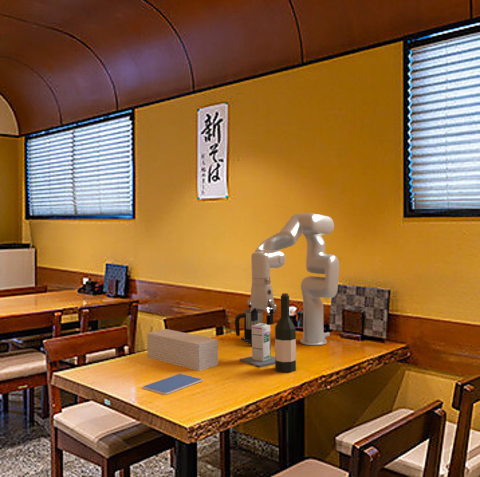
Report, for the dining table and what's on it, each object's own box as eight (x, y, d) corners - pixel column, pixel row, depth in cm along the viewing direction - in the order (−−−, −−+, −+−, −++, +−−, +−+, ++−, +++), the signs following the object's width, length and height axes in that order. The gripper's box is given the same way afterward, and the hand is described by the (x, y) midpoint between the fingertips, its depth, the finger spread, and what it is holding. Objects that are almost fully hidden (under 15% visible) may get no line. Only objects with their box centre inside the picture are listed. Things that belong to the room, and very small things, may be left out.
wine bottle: (298, 367, 206) (297, 292, 205) (293, 373, 198) (292, 295, 197) (277, 365, 209) (277, 291, 208) (272, 371, 201) (271, 294, 200)
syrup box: (263, 361, 212) (263, 326, 212) (251, 359, 216) (251, 324, 215) (271, 358, 217) (270, 324, 216) (259, 356, 220) (259, 322, 220)
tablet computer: (165, 397, 175) (165, 393, 175) (140, 389, 183) (140, 386, 183) (204, 382, 191) (204, 379, 190) (179, 376, 198) (179, 373, 198)
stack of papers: (147, 357, 224) (147, 333, 224) (166, 352, 232) (166, 328, 232) (199, 371, 203) (199, 344, 203) (218, 365, 211) (217, 339, 211)
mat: (262, 355, 225) (262, 353, 225) (283, 361, 215) (283, 359, 215) (239, 360, 217) (239, 358, 217) (260, 367, 207) (260, 365, 207)
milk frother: (258, 337, 259) (258, 308, 258) (272, 344, 244) (272, 313, 244) (232, 340, 253) (231, 310, 253) (245, 347, 239) (244, 315, 238)
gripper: (282, 282, 210) (283, 324, 211) (254, 278, 224) (255, 318, 225) (268, 284, 206) (269, 327, 207) (240, 280, 219) (242, 320, 220)
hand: (262, 322), depth 216 cm, fingers open, 9 cm apart
